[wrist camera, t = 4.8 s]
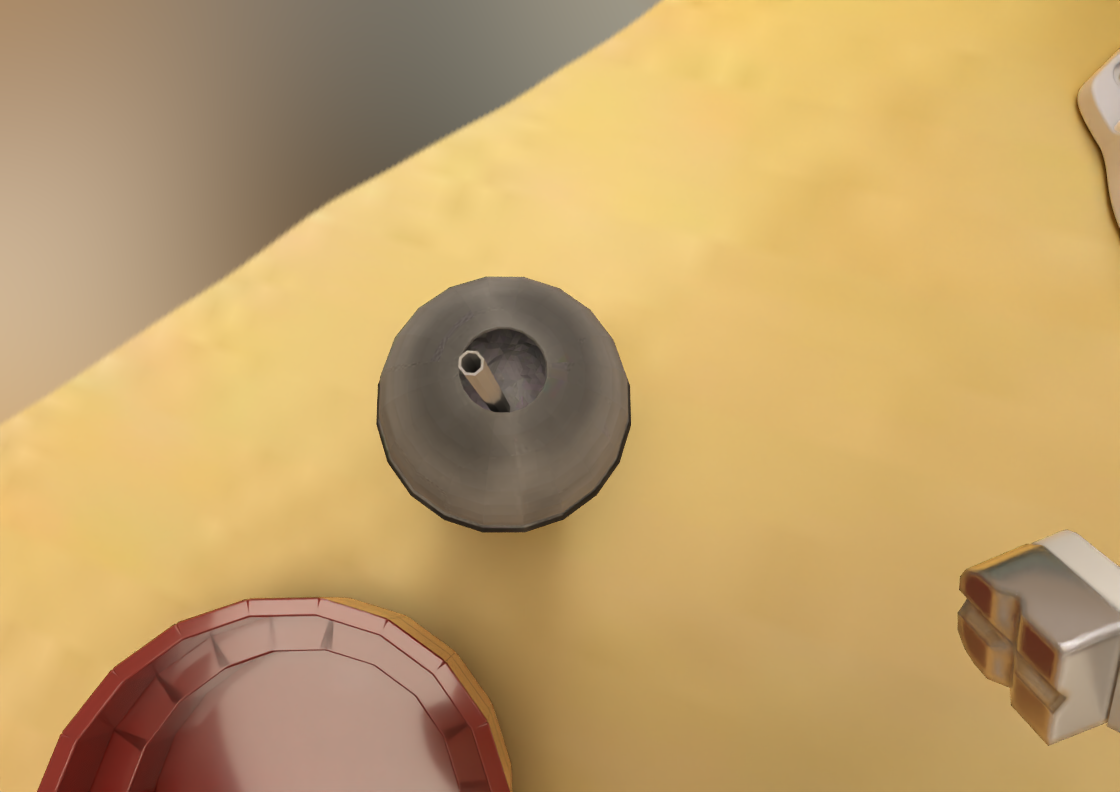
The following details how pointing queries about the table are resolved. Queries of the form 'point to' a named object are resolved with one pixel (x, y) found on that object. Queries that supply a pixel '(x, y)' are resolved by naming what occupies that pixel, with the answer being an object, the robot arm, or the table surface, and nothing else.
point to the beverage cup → (503, 405)
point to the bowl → (286, 708)
